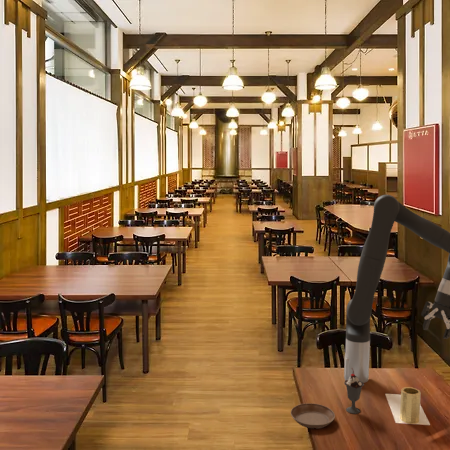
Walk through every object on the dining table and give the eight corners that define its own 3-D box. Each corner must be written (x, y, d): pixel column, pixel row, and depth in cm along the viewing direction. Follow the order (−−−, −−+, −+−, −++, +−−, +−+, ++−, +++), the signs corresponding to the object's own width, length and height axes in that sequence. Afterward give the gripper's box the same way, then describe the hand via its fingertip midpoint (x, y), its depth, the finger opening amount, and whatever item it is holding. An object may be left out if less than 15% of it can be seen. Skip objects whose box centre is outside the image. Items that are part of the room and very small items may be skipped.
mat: (395, 425, 177) (395, 422, 177) (385, 396, 199) (385, 393, 199) (430, 427, 176) (430, 425, 176) (415, 397, 197) (415, 395, 197)
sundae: (349, 404, 192) (351, 364, 191) (366, 410, 188) (367, 369, 186) (339, 410, 188) (340, 369, 186) (356, 417, 183) (357, 375, 181)
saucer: (326, 436, 171) (326, 428, 171) (283, 425, 178) (283, 417, 178) (340, 416, 184) (340, 409, 184) (299, 407, 191) (299, 399, 191)
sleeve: (411, 425, 175) (412, 396, 174) (396, 417, 180) (397, 389, 179) (422, 420, 179) (424, 392, 177) (408, 413, 184) (409, 385, 182)
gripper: (426, 285, 201) (413, 326, 202) (460, 298, 190) (446, 341, 191) (437, 288, 205) (424, 327, 206) (471, 300, 194) (457, 342, 195)
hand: (435, 334), depth 199 cm, fingers open, 8 cm apart
